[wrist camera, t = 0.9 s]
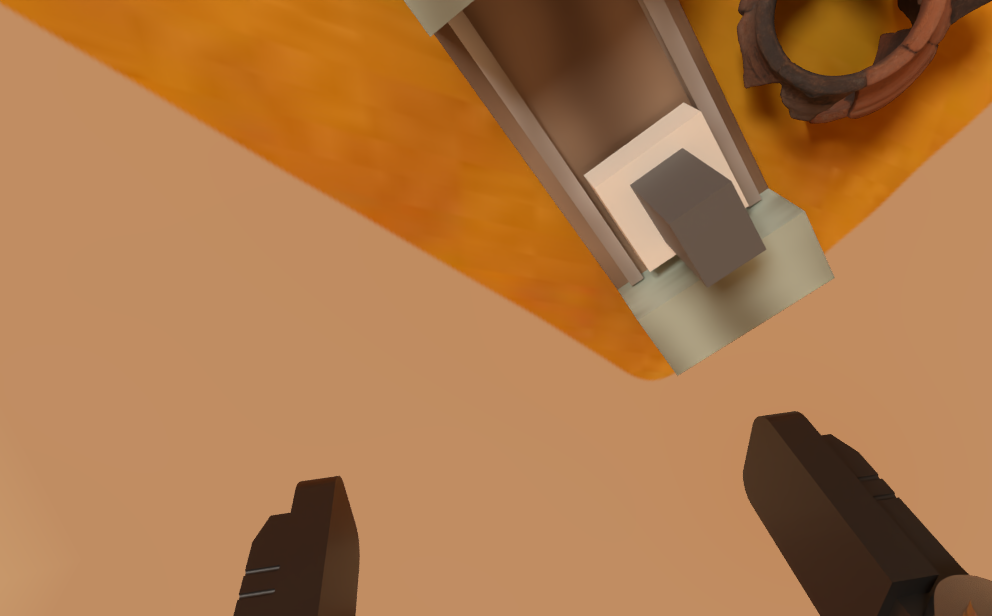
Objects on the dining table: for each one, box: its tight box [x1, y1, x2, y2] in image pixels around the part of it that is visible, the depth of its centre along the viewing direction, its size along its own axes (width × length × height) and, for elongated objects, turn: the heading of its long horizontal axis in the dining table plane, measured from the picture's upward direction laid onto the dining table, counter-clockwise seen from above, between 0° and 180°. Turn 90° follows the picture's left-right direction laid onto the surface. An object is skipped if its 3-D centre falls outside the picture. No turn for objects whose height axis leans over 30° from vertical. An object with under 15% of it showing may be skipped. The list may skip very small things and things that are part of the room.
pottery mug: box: [737, 0, 992, 123], centre depth 28 cm, size 12×10×8 cm
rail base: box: [404, 0, 834, 375], centre depth 28 cm, size 10×28×8 cm, turn 36°
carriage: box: [584, 103, 767, 288], centre depth 29 cm, size 6×6×7 cm
